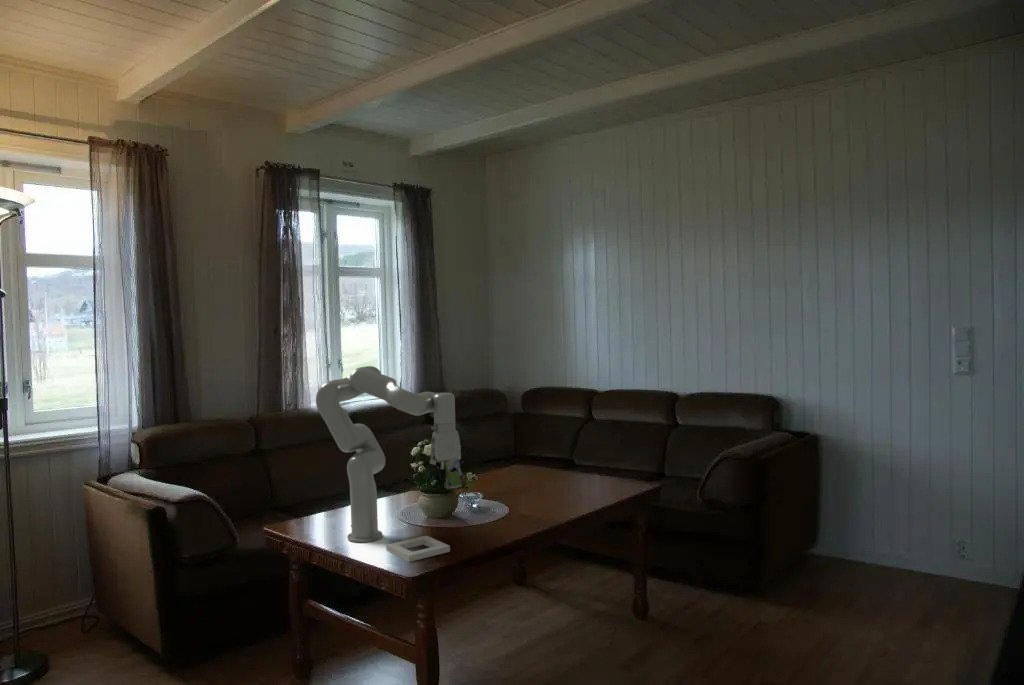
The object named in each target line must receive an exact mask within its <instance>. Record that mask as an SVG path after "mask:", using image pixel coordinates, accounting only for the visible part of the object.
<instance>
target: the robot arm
mask: <svg viewBox="0 0 1024 685" xmlns="http://www.w3.org/2000/svg"><path fill="white" fill-rule="evenodd" d="M397 384H398V383H397V380H396V379H395V378H393V377H391V376H387V375H384V374H382V372H381V371H380V369H379V368H377V366H372V365H368V366H362V367H361V366H360V367H357V368H355V369H353V370H352V372H351V373H350V375H348V376H346V377H344V378H339V379H338V378H337V379H332V380H329V381H327V382H324V383H323V384H322V385H321V386H319V388H318V390H317V392H316V396H315V405H316V408H317V411H318V413H319V414H320V416H321V417H322V420H324V421H323V422H325V425H327V429H328V430H329V433H331V436H332V437H333V439H334V441H335V444H336V445H337V447H338V448H339V450H340V451H341V452H343V453H353V452H355V454H353V455H352V456H351V457H349V458H350V459H348V461H347V464H346V473H347V477H348V482H349V483H348V484H349V498H350V518H351V519H350V521H351V522H350V524H351V525H350V528H351V532H350V533H349V534H348V535H347V540H348V541H349V542H353V543H368V542H373V541H378V540H380V539H382V537H383V532H382V531H380V530H379V522H378V497H377V485H376V484H377V483H376V481H375V478H374V475H375V474H377V473H380V472H381V471H382V470H383V469H384V467H385V466H386V456H385V453H384V452H383V449H382V448H381V445H380V444H379V443H378V442H379V441H377V439H376V436H375V435H374V433H373V432H372V430H371V429H370V427H368V426H367V425H365V424H363V423H353V421H352V420H351V418H350V416H349V414H348V412H347V411H346V410H345V408H343V407H342V406H341V404H340V403H342V402H346V401H351V400H353V399H355V398H357V397H359V396H361V395H363V394H367V395H369V396H372V397H375V398H377V399H380V400H383V401H385V402H386V403H387V404H388V405H390V406H391V407H392V408H395V409H396V410H398V411H401V412H403V413H407V414H409V415H413V416H422V415H425V414H429V413H433V425H431V427H430V428H431V430H432V431H433V432H432V435H431V436H432V437H431V442H430V443H431V444H430V459H429V464H431V465H434V466H435V467H436V468H437V469H438V477H439V480H441V481H446V472H445V469H444V461H447V460H451V459H454V458H458V459H459V461H460V460H461V459H462V452H461V448H462V447H461V440H460V435H459V432H458V430H456V400H455V395H454V394H453V393H452V392H432V391H423V392H420V393H415V392H412V391H409V390H407V389H404V388H402V387H400V386H399V385H397Z"/></svg>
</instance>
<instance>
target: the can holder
mask: <svg viewBox="0 0 1024 685" xmlns="http://www.w3.org/2000/svg"><path fill="white" fill-rule="evenodd" d="M419 546H425V547H427V548H423V549H419V550H414V551H412V550H409V549H411V548H415V547H419ZM385 548H386V551H387V552H389V553H390V554H392V555H394V556H396V557H398V558H400V559H402V560H404V561H406V562H408V563H410V562H414V561H418V560H421V559H422V560H423V559H425V558H430V557H434V556H437V555H442V554H446V553H450V552H451V545H449V544H446V543H444V542H443V541H439V540H437V539H435V538H434V537H433V538H432V537H431V536H428V535H422V536H418V537H414V538H410V539H405V540H401V541H395V542H392V543H388V544H386V545H385Z"/></svg>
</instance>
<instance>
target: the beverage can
mask: <svg viewBox="0 0 1024 685" xmlns="http://www.w3.org/2000/svg"><path fill="white" fill-rule="evenodd" d="M444 469H445V472H446V480H445V482H446V486H447V487H448V488H449V489H457V488H460V487H462V486H463V484H464V482H465V481H464V476H463V473H462V469H461V464H460V460H459V459H458V458H454V459H451V460H447V461H444Z"/></svg>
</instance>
